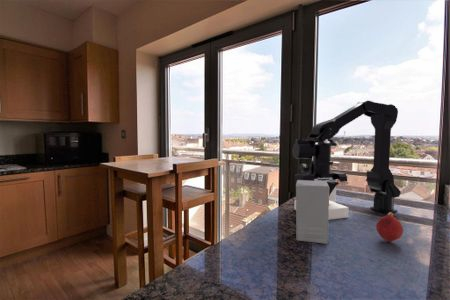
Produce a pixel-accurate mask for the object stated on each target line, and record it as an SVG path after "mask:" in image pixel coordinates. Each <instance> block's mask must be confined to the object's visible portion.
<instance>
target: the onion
mask: <svg viewBox="0 0 450 300" xmlns="http://www.w3.org/2000/svg"><path fill="white" fill-rule="evenodd" d="M394 215H395V214H394V212H392V213H386V215H384V216H382V217H381V218H379V219H378V220H377V222H376V226H375V227H376V231H377V233H378V235H379V236H380V238H382V239H383V240H385V241H386V242H387V243H392V242H394V241H398V240H399V239H400V238H401V237H402V236H403V232H404V228H403V225H402V223H401V222H400V220H398V218H396V217H394Z"/></svg>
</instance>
